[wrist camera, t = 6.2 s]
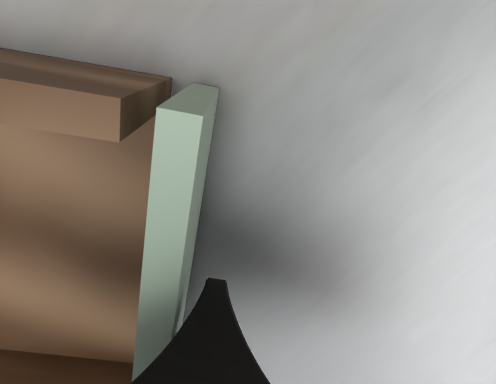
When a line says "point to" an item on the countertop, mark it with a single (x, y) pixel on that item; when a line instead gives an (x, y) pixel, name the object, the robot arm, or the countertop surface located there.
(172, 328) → the door
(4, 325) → the brown wooden open box
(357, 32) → the countertop surface
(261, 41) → the countertop surface
